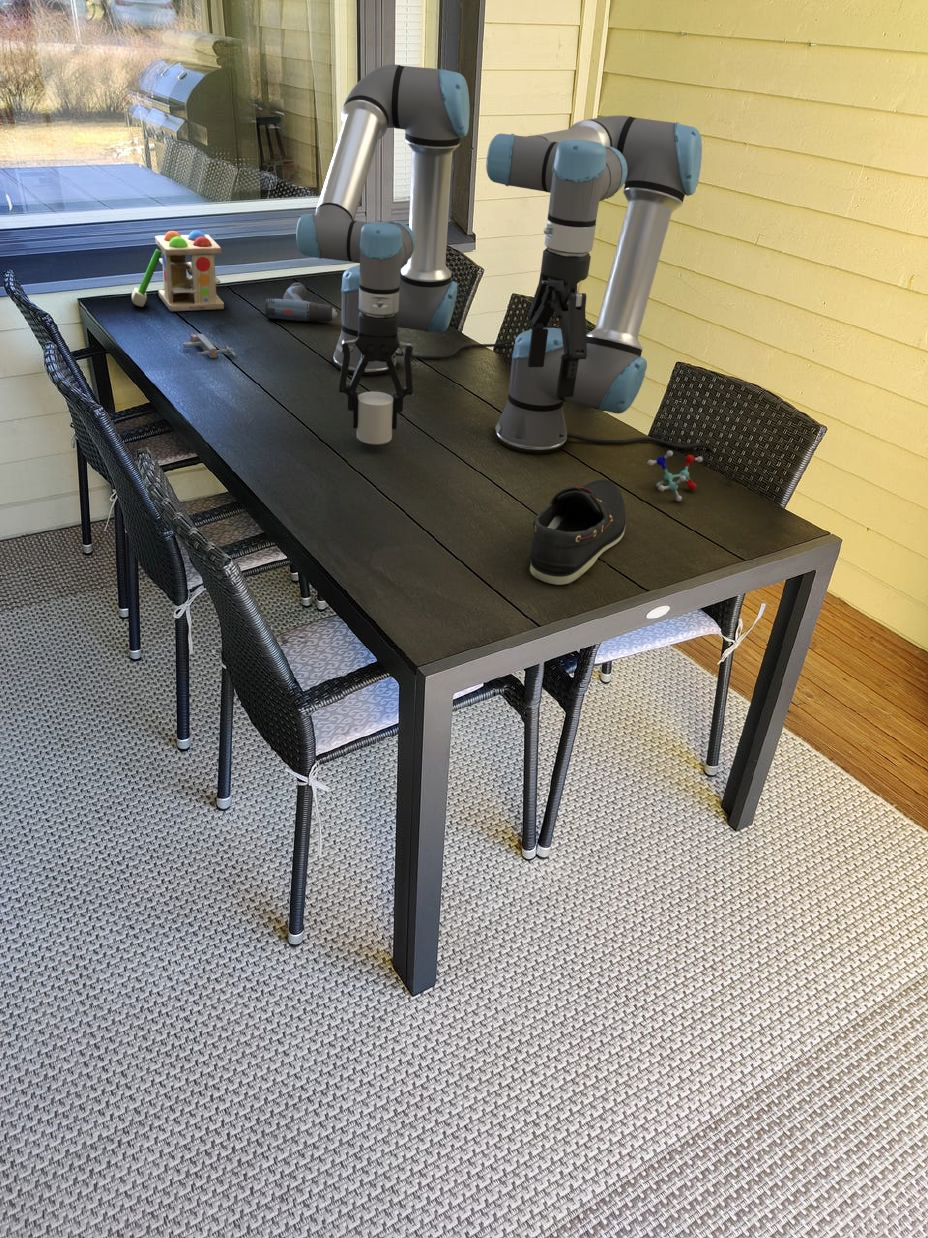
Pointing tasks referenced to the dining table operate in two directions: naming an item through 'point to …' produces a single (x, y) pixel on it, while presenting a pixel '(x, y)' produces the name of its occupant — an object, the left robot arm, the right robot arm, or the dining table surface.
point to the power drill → (298, 307)
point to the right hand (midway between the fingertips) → (549, 381)
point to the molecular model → (669, 477)
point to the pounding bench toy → (184, 272)
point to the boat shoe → (576, 531)
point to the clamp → (206, 346)
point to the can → (374, 417)
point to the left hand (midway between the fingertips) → (374, 425)
